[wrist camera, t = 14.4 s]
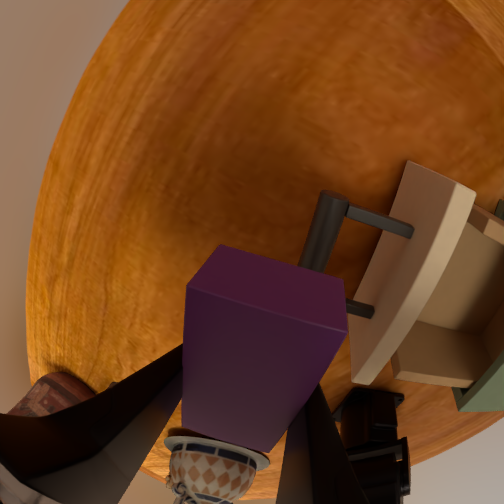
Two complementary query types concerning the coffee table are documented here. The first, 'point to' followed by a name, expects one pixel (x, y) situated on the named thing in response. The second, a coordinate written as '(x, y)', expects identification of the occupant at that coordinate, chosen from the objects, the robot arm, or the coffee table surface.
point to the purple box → (256, 345)
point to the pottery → (52, 395)
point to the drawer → (421, 282)
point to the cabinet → (485, 378)
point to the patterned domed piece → (211, 470)
